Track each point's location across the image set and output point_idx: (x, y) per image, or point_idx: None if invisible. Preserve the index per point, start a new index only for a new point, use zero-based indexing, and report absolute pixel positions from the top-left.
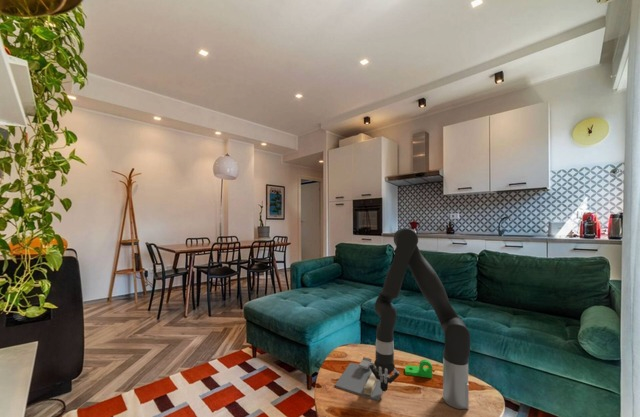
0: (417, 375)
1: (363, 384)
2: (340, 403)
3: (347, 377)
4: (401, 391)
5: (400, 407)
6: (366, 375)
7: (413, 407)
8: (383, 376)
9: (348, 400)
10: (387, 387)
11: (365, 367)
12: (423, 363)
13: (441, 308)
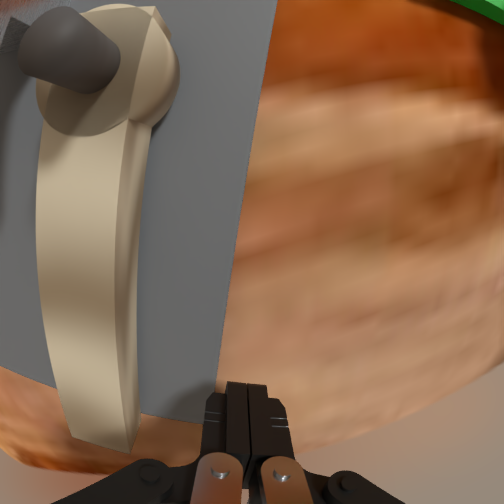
0: (499, 18)
1: (38, 286)
2: (32, 438)
3: None
4: (401, 244)
5: (361, 413)
6: (29, 131)
7: (439, 379)
8: (230, 502)
9: (45, 423)
10: (280, 419)
11: None
12: None
13: None
